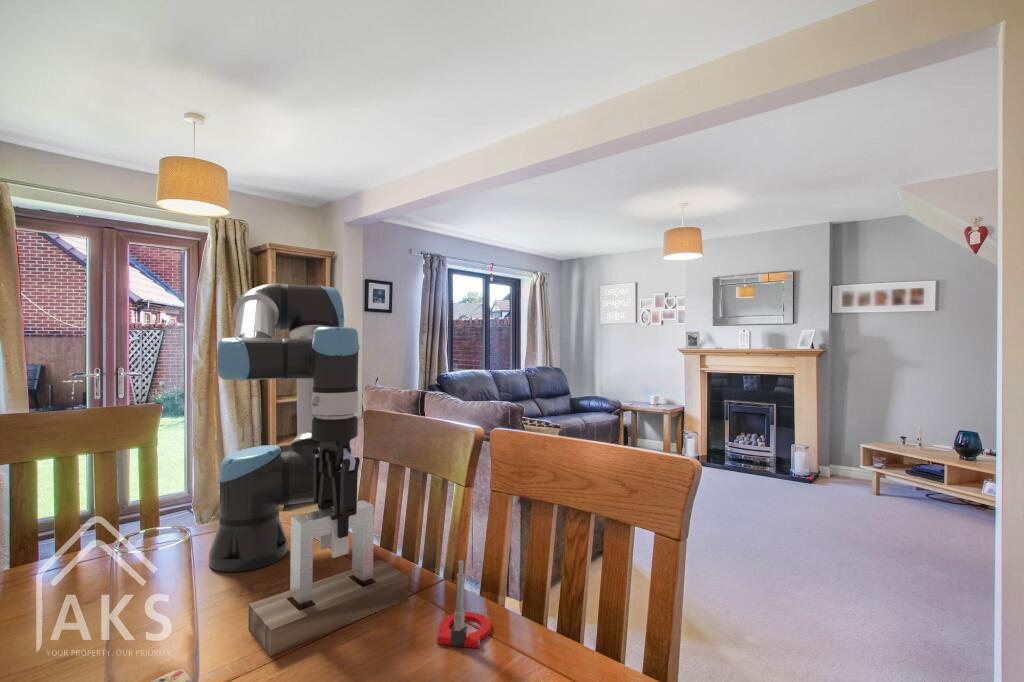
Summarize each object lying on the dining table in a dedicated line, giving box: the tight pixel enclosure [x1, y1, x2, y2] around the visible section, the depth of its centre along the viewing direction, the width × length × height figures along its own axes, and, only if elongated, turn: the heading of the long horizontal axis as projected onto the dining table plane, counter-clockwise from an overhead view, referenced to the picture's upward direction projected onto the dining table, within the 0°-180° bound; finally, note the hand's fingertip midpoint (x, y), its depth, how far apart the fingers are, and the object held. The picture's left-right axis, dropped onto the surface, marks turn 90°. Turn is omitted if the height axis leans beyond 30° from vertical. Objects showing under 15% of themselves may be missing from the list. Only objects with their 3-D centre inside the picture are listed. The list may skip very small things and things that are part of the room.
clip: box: [289, 499, 375, 604], centre depth 85 cm, size 4×13×13 cm, turn 135°
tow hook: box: [436, 559, 492, 649], centre depth 81 cm, size 8×13×9 cm
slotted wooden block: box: [247, 559, 409, 657], centre depth 86 cm, size 10×24×4 cm, turn 135°
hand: (333, 550), depth 85 cm, fingers closed on clip, 4 cm apart
